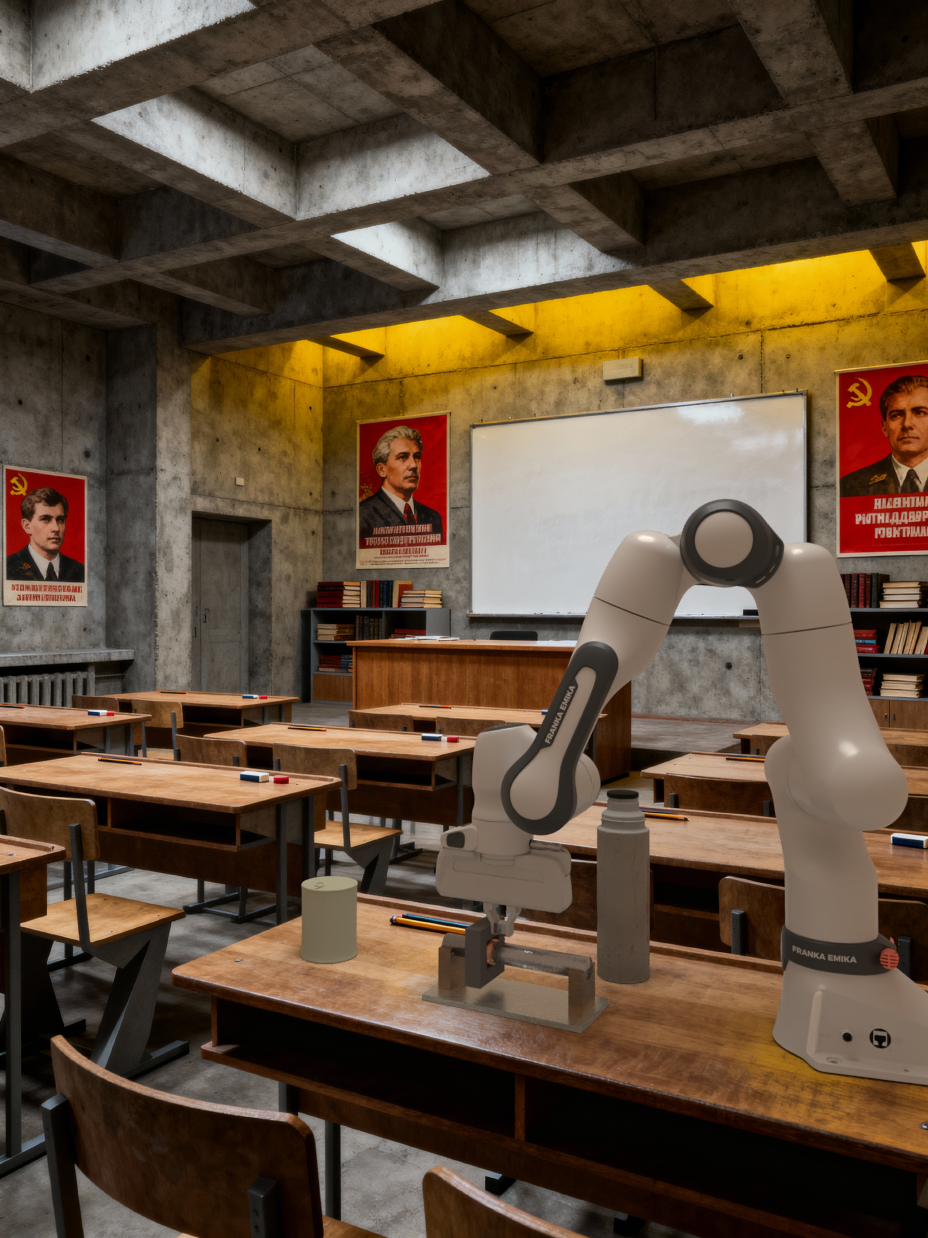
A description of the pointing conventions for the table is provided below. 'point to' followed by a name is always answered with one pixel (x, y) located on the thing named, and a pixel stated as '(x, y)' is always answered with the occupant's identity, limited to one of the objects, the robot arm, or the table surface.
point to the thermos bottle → (623, 890)
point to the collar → (480, 954)
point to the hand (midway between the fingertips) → (502, 934)
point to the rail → (520, 985)
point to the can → (329, 919)
